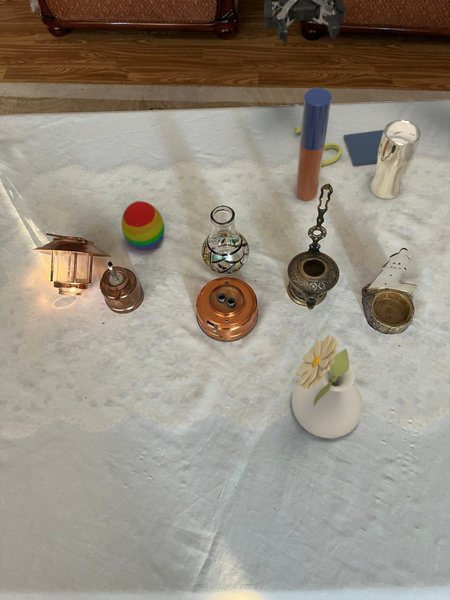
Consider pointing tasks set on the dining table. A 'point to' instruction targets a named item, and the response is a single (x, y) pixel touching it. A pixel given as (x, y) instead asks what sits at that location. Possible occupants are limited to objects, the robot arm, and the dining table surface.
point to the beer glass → (394, 157)
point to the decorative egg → (142, 225)
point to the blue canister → (315, 118)
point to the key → (327, 146)
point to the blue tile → (363, 147)
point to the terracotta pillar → (308, 173)
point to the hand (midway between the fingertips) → (309, 35)
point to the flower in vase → (327, 392)
